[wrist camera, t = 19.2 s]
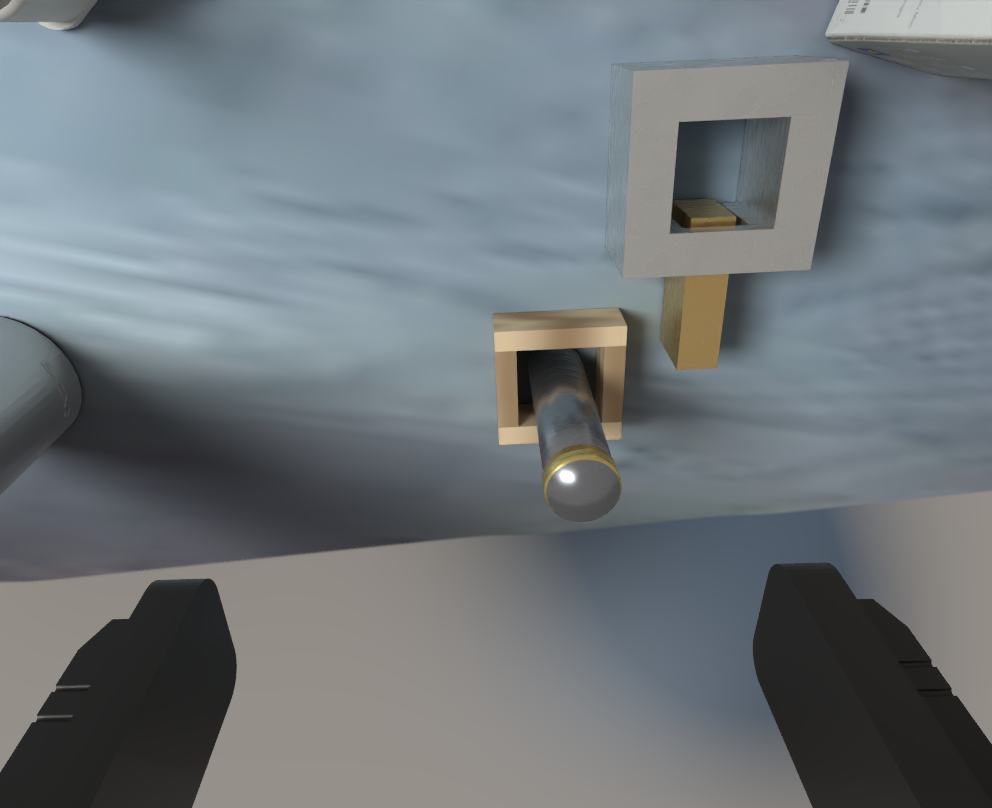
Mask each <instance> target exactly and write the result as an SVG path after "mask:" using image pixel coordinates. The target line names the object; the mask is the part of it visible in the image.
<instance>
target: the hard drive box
mask: <svg viewBox="0 0 992 808" xmlns="http://www.w3.org/2000/svg"><path fill="white" fill-rule="evenodd" d="M825 35H826V36H827V37H829V42H831V43H834V44H837V45H840V46H843V47H846V48H849V49H852V50H855V51H859V52H862V53H865V54H868V55H871V56H875V57H878V58H881V59H885V60H889V61H892V62H895V63H898V64H901V65H904V66H908V67H911V68H915V69H918V70H921V71H925V72H928V73H931V74H935V75H940V76H950V77H967V78H981V79H991V80H992V0H840V1H839V3H838V5H837V7H836V10H835V12H834V14H833V17H832V19H831V21H830V24H829V26H828V28H827V30H826V34H825Z"/></svg>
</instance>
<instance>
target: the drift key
mask: <svg viewBox="0 0 992 808" xmlns="http://www.w3.org/2000/svg"><path fill="white" fill-rule="evenodd" d="M671 217H672V218H673V219H674V220H675V221H676V222H677V224H678V225H679V226H680V227H681V228H694V227H715V226H735V223H736V216H735V215H734V214H732V213H731V212H730V211H728V210H727V209H726V208H724V207H723V206H722V205H720V204H719V203H718V202H716V201H715V200H714V199H712V198H711V199H690V200H672V212H671ZM728 278H729V274H714V275H693V276H672V277H665V288H664V300H663V312H662V325H661V337H660V341H661V343H662V345H663V347H664V348H665V350H666V352H667V354H668V355H669V357H670V359H671V360H672V362H673V364H674V366H675V367H676V369H677V370H685V369H706V368H717V364H718V356H719V348H720V341H721V333H722V325H723V317H724V309H725V301H726V294H727V286H728Z"/></svg>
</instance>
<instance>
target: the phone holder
mask: <svg viewBox="0 0 992 808" xmlns="http://www.w3.org/2000/svg"><path fill="white" fill-rule="evenodd" d="M97 1H98V0H0V22H38V23H40V24H41V25H43V26H45V27H47V28H50V29H54V30H69V29H73V28H75V27H77V26H78V25H79V24H80V23H81V22H82V21H83V19H84V18H85V17H86V15H87V14H88V13H89V11H90V10H91V9H92V7H93V6H94V5H95V3H96V2H97Z"/></svg>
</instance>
